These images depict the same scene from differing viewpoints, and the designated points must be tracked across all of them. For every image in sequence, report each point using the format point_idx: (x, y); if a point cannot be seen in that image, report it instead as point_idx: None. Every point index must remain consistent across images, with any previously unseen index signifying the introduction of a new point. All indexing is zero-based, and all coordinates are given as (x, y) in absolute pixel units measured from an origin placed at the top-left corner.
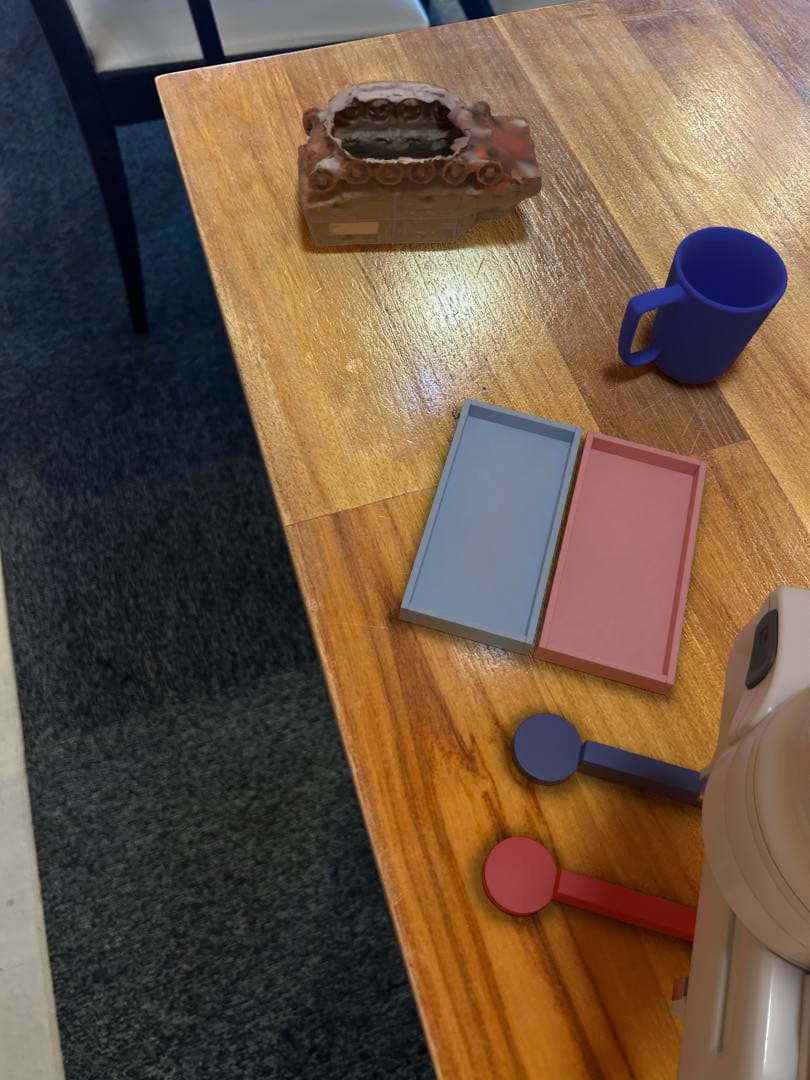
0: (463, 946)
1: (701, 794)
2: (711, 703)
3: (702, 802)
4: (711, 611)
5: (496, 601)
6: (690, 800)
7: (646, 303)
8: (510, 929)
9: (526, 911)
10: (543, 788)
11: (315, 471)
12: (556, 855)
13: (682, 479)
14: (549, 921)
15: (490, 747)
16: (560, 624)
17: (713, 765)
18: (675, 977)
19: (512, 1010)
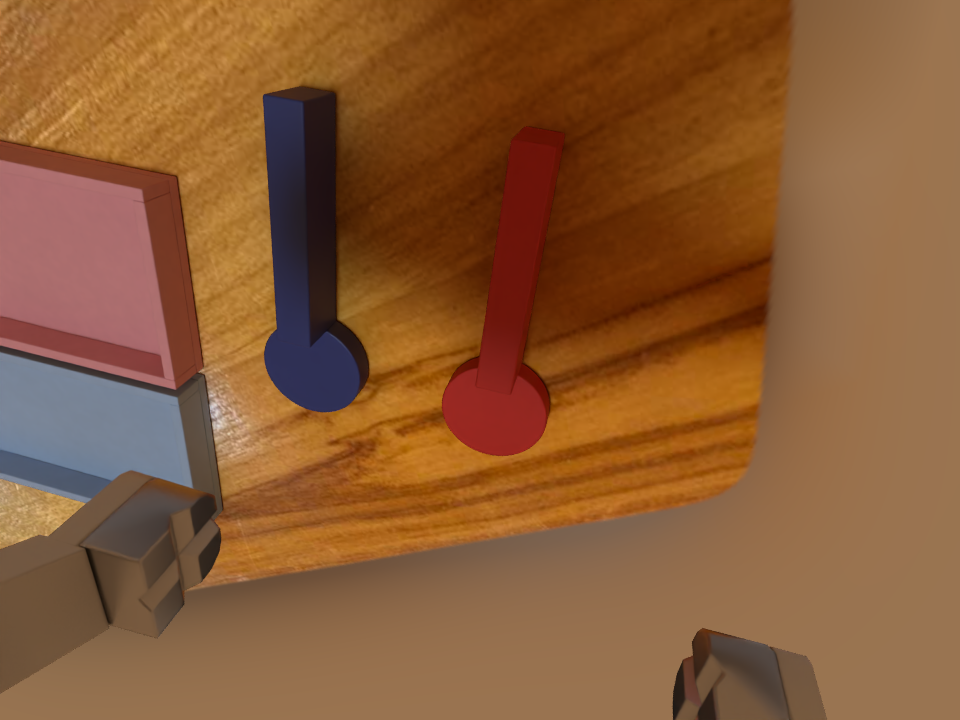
0: (595, 466)
1: (188, 585)
2: (156, 88)
3: (217, 545)
4: (4, 82)
5: (149, 415)
6: (326, 148)
7: None
8: (568, 412)
9: (542, 410)
10: (373, 362)
11: None
12: (460, 350)
13: None
14: (553, 364)
15: (338, 423)
16: (140, 337)
17: (64, 654)
18: (673, 714)
19: (676, 416)
